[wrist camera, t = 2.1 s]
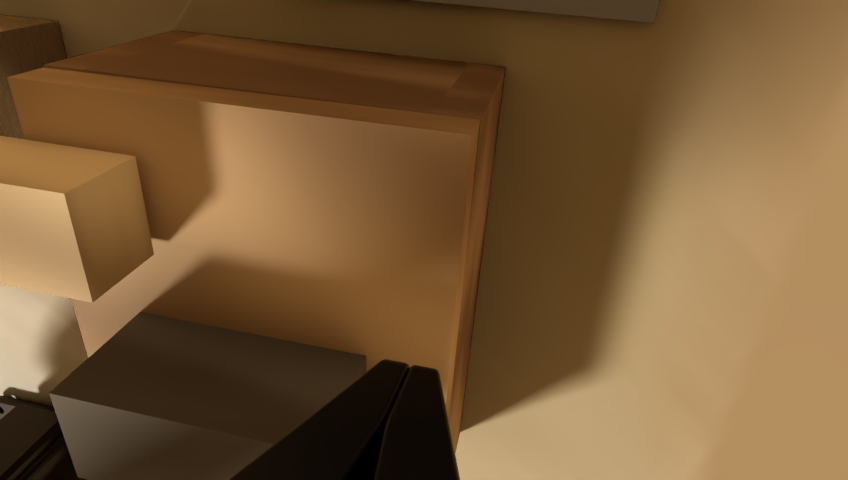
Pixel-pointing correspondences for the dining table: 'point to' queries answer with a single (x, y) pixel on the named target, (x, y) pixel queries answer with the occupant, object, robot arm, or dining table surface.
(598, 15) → the mat
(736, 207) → the dining table surface
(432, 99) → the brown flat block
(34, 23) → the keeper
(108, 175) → the tan wooden bar
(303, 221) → the lid
